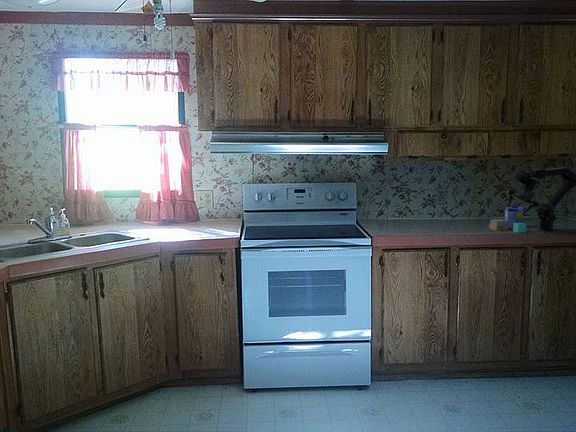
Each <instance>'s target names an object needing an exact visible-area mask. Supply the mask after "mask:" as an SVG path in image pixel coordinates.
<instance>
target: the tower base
mask: <svg viewBox="0 0 576 432" xmlns="http://www.w3.org/2000/svg"><path fill="white" fill-rule="evenodd" d="M488 229H490V230H492V231H496V230H497V231H509V227H508V226H494V225H491V224H490V223H489V224H488Z"/></svg>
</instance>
